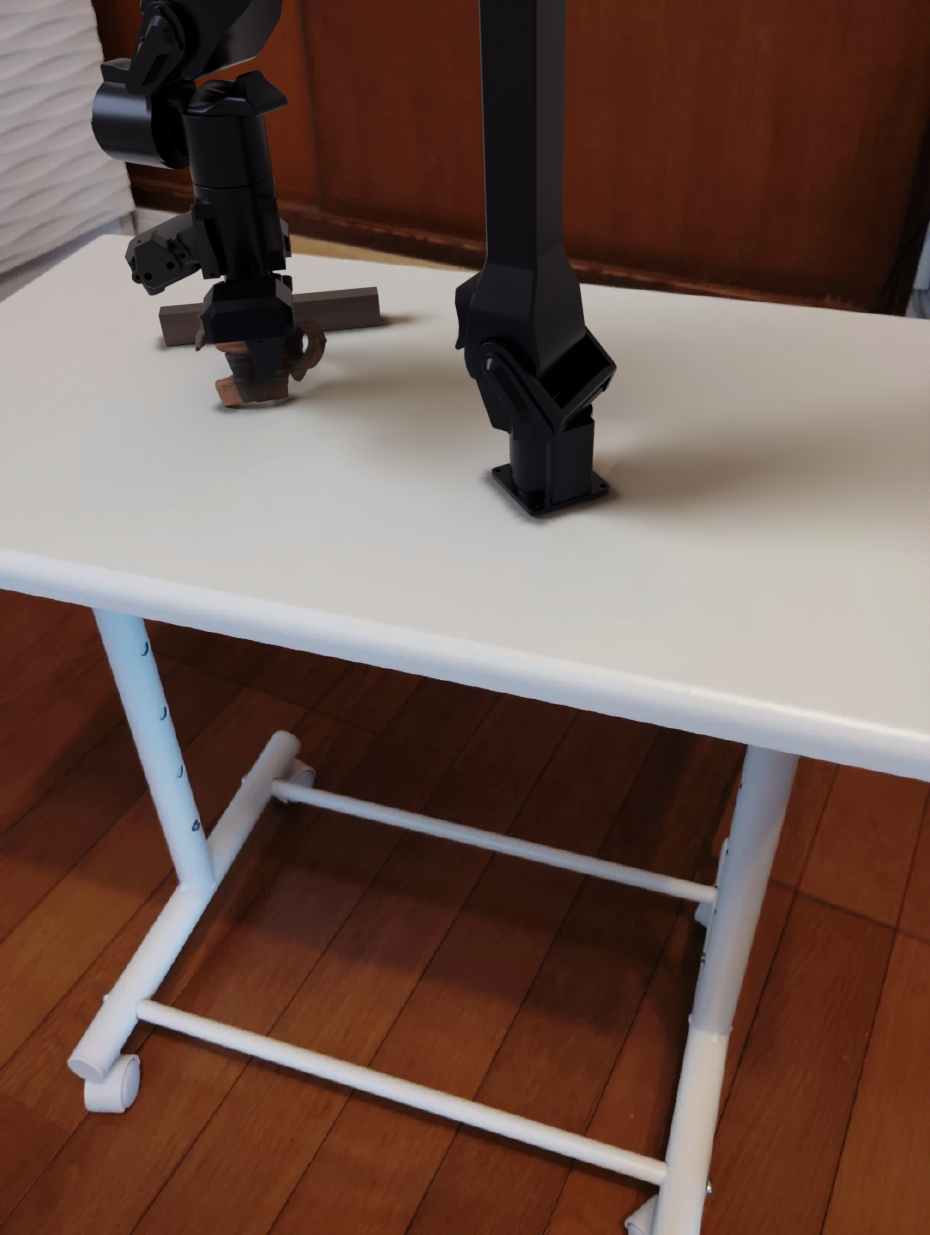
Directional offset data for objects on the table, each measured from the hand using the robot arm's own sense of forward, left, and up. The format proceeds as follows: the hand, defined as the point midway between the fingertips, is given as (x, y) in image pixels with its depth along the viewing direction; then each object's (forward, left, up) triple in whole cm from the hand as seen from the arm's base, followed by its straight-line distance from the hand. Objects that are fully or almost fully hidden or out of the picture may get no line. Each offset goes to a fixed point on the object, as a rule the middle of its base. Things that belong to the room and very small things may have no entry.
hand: (268, 378), depth 82 cm
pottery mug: (+5, -1, -3) cm, 5 cm away
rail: (+14, -5, -3) cm, 15 cm away
